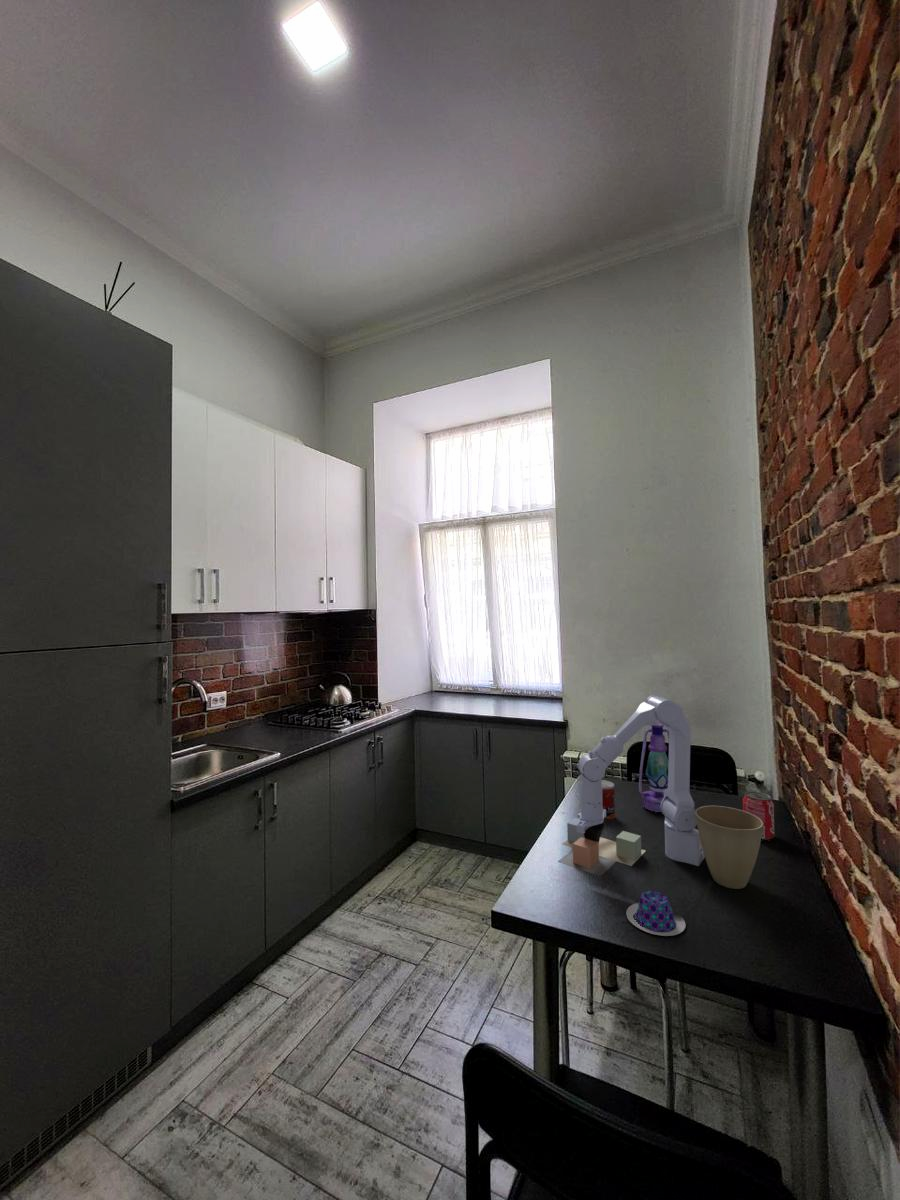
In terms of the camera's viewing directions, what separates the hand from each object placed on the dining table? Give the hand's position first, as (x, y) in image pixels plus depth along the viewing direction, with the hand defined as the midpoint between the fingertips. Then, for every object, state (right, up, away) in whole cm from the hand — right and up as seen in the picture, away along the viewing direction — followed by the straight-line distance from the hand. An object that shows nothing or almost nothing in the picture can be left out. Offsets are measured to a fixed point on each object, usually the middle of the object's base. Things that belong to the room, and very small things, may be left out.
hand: (592, 851), depth 136 cm
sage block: (+10, -1, +1) cm, 10 cm away
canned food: (+12, -3, +29) cm, 31 cm away
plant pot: (+31, -2, -12) cm, 33 cm away
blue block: (-1, -2, +10) cm, 10 cm away
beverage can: (+54, -3, +14) cm, 56 cm away
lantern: (+33, -3, +35) cm, 49 cm away
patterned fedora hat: (+6, -2, -27) cm, 28 cm away
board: (+2, -3, +2) cm, 3 cm away
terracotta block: (-3, -1, -3) cm, 4 cm away
